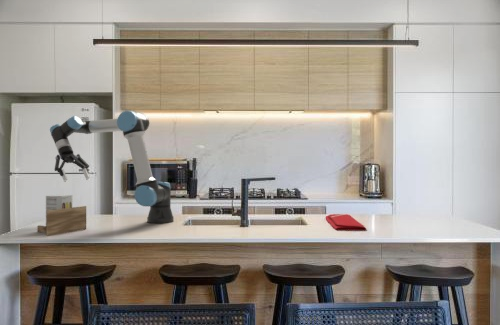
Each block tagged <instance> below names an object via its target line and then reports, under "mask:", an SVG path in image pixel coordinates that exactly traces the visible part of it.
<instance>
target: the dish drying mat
mask: <svg viewBox="0 0 500 325" xmlns="http://www.w3.org/2000/svg"><path fill="white" fill-rule="evenodd" d="M325 220H326V222H327V223H328V224H329V225H330V227H331V228H333V229H334V230H335V231H337V232H338V231H347V232H348V231H355V232H356V231H360V232H361V231H363V232H364V231H367V228H366V226H365V225H364V224H362V223H361V222H359V221H358V220H356V219H355V218H354V217H353V216H351V214H347V213H345V214H343V213H336V214H335V213H334V214H328V215H326V216H325Z"/></svg>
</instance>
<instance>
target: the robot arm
mask: <svg viewBox="0 0 500 325" xmlns="http://www.w3.org/2000/svg"><path fill="white" fill-rule="evenodd" d="M149 127H150V119H149V117H148V116H147V115H146V114H144V113H142V112H138V111H134V110H124V111H122V112H120V114H119V115H118V117H117V118H109V119H97V120H95V119H94V120H82V119H81V118H80V117H78V116H77V115H72V116H71V117H69V118H68V119H66V121H64V122H63V123H62V124H59V123H56V124H54V125H52V126H51V127H50V128H49V131H50V136H51V138H52V140H53V142H54V144H55V147H56V149H57V152H58V154H57V155H56V156H55V165H54V172H57V173H59V176H61V178H62V180H63V182H64V183H65V182H67V180H68V177H67V175H66V172H65V169H63V168H64V166H65V164H69V163H70V164H71V163H73V164H74V165H76V166H77V167H79V168H80V169H82V172H83V175H84V177H85V180H86V181H88V180H89V179H90V175H89V167H90V165H89V163H87V161H86V160H84V158H82V157H81V155H80V153H77V154H76V155H75V153H74V151H73V148H72V145H71V143H70V140H69V138H68V137H69V136H71V135H73V133H74V134H75V133H76V134H77V133H79V134H85V135H90V134H96V133H97V134H98V133H113V132H122V135H123V138H124V139H126V140H127V142H128V148H129V151H130V156H131V159H132V162H133V163H132V165H133V168H134V172H135V175H136V183H135V191H134V196H133V197H134V199H135V201H136V203H137V204H138V205H140V206H142V207H150V208H149V212H148V216H147V217H146V218H147V220H146V222H147V223H149V224H164V223H166V224H167V223H173V222H174V216H173V212H172V208H171V206H172V205H171V204H172V203H171V197H172V196H171V195H172V194H171V193H172V192H171V190H172V188H171V183H170V182H167V181H157V179H156V178H154V176H153V172H152V168H151V164H150V160H149V154H148V151H147V147H146V143H145V139H144V135H145V134H146V133H145V132H146V131H148V129H149ZM61 160H62V162H61V164H60V161H61Z"/></svg>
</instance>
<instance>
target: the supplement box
mask: <svg viewBox="0 0 500 325" xmlns="http://www.w3.org/2000/svg"><path fill="white" fill-rule="evenodd" d="M64 208H73V195H72V194H50V195H46V196H45V226H47V210H56V209H64Z"/></svg>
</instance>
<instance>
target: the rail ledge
mask: <svg viewBox="0 0 500 325" xmlns="http://www.w3.org/2000/svg"><path fill="white" fill-rule="evenodd" d="M84 230H87V206H86V205H83V206H74V207H73V206H72V208H64V209H56V210H47V226H46V225H37V232H38V233H43V232H45V233H44V234H46V236H47V237H49V236H54V235H60V234H61V235H62V234H66V233H67V234H68V233H72V232H77V231H84Z"/></svg>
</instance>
